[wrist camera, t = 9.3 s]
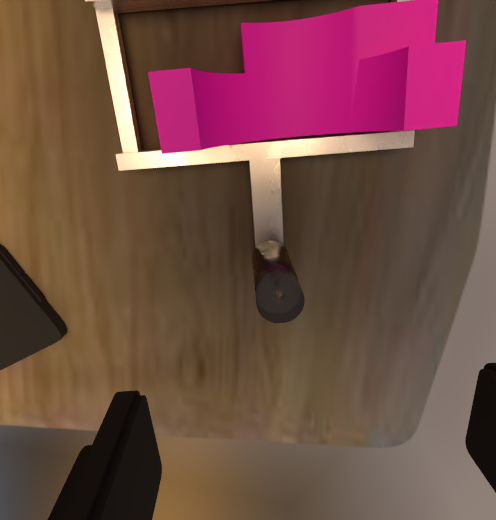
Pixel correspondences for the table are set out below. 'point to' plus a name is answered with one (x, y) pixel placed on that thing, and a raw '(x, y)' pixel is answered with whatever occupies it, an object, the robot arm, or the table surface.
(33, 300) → the smart home device
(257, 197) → the slider
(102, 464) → the robot arm
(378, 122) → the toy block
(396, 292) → the table surface
